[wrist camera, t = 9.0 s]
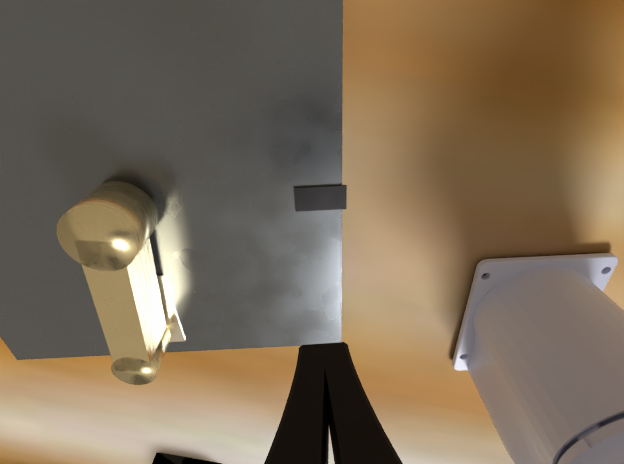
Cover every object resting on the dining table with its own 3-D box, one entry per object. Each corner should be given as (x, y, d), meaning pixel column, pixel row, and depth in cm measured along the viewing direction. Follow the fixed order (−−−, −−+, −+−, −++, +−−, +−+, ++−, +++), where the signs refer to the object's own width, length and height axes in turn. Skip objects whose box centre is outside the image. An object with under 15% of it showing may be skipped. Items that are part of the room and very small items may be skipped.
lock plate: (342, 325, 23) (344, 344, 21) (33, 340, 23) (16, 361, 21) (344, -77, 12) (349, -89, 11) (-226, -50, 12) (-292, -58, 11)
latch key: (81, 178, 15) (46, 205, 13) (153, 183, 15) (129, 210, 13) (128, 346, 21) (108, 384, 18) (180, 347, 21) (166, 385, 19)
